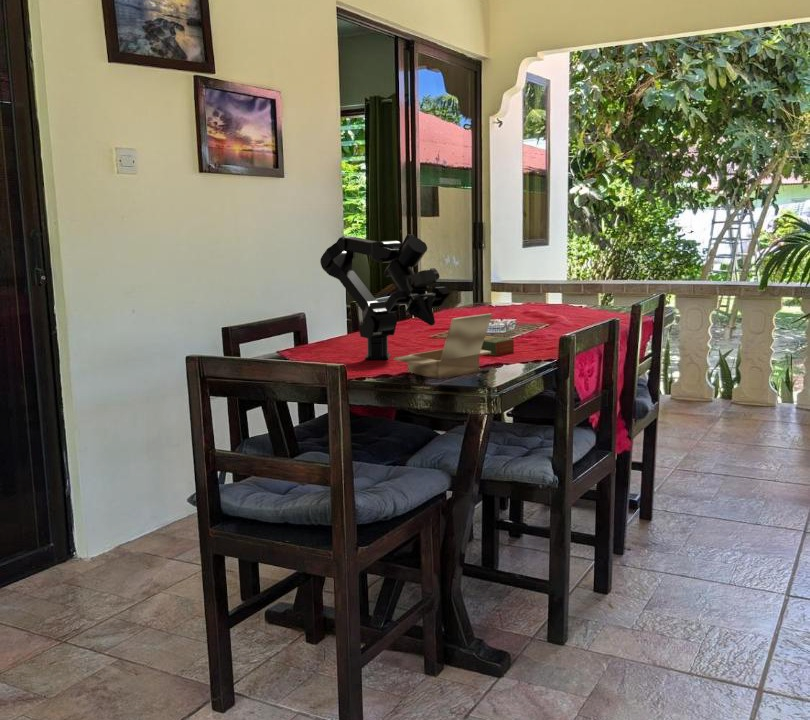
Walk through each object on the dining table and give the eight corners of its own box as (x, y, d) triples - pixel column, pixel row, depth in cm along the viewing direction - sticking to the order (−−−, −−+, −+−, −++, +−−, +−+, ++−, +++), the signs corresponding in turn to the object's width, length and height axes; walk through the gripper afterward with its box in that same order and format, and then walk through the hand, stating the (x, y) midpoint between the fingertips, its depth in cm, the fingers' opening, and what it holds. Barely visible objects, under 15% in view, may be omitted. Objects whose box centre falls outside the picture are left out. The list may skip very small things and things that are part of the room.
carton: (473, 346, 255) (473, 332, 254) (514, 353, 244) (514, 338, 243) (454, 350, 249) (454, 335, 249) (495, 356, 238) (495, 341, 237)
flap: (452, 318, 202) (453, 319, 201) (490, 313, 210) (492, 314, 210) (440, 359, 207) (441, 360, 207) (478, 353, 215) (479, 354, 215)
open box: (392, 374, 214) (392, 357, 213) (460, 362, 229) (460, 346, 228) (423, 382, 205) (423, 364, 204) (492, 368, 220) (492, 351, 219)
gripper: (391, 260, 212) (420, 307, 206) (445, 256, 224) (474, 301, 218) (372, 289, 220) (399, 335, 214) (426, 283, 231) (453, 327, 225)
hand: (433, 324), depth 217 cm, fingers closed
